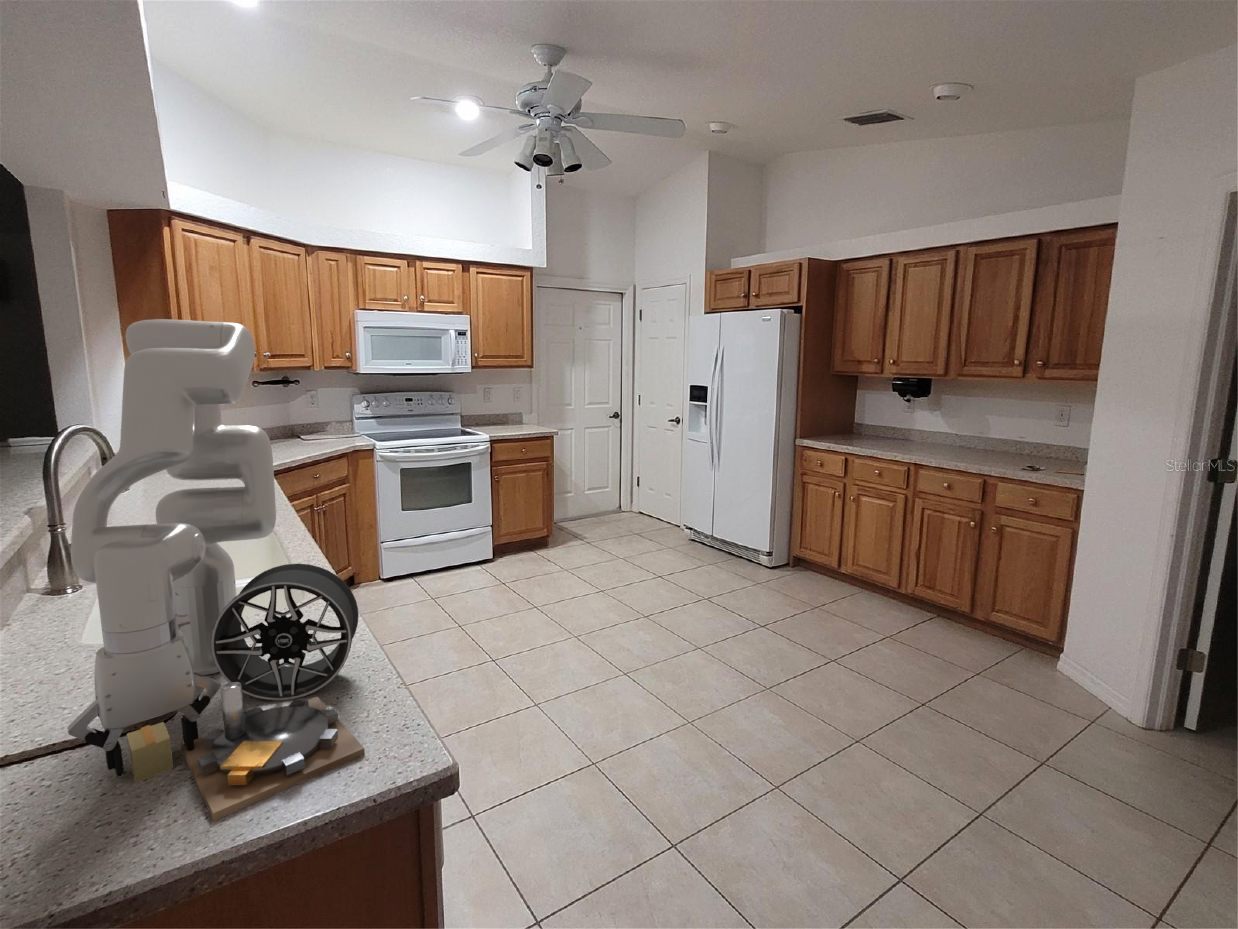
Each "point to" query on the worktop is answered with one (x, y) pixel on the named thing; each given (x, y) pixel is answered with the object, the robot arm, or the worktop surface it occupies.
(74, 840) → the worktop surface
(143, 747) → the tan block with orange
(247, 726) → the sprocket
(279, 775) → the sprocket base
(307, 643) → the wheel rim
